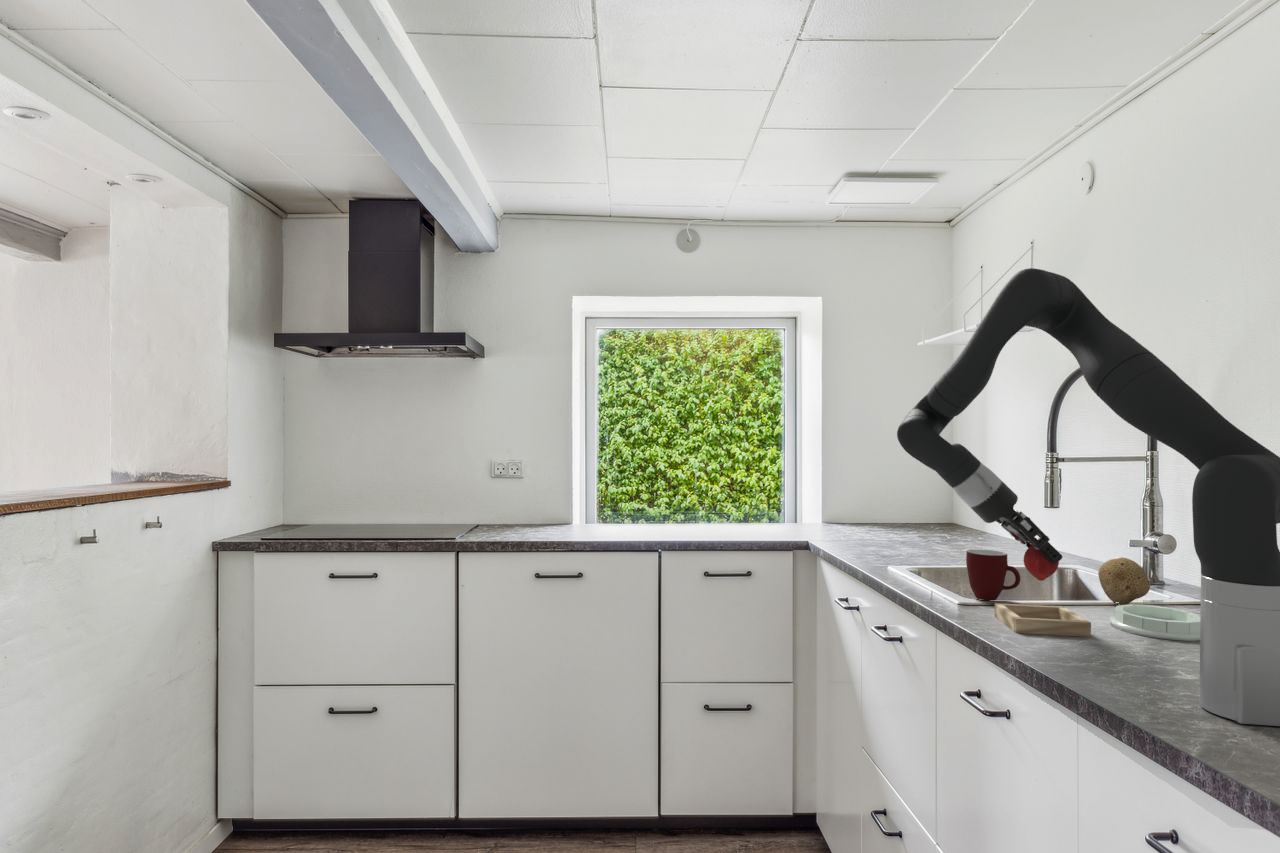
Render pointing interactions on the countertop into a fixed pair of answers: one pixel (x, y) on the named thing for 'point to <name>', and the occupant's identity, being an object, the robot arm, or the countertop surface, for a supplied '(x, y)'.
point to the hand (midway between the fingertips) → (1051, 557)
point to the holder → (1042, 620)
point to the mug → (989, 573)
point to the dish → (1157, 622)
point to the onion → (1038, 564)
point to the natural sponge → (1123, 580)
